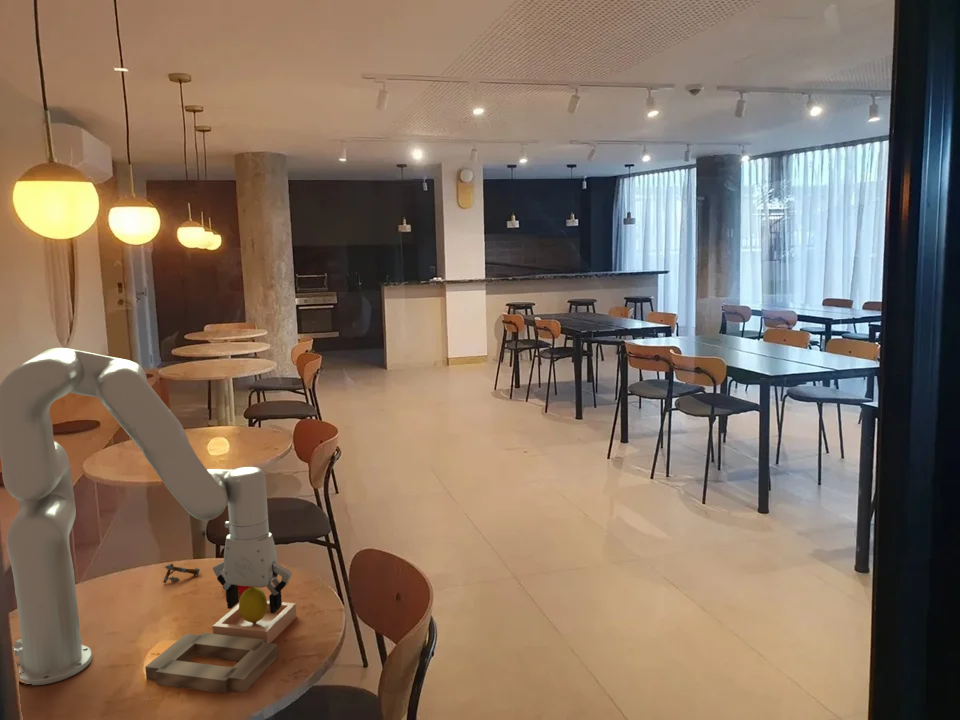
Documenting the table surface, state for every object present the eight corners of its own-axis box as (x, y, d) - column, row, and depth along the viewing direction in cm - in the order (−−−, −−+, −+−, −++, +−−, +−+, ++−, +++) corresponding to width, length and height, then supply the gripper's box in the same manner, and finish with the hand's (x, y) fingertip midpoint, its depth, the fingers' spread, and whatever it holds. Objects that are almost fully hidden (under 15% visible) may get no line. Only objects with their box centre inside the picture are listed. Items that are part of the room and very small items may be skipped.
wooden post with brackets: (158, 580, 174) (165, 561, 174) (191, 584, 179) (197, 566, 179) (160, 583, 172) (167, 564, 173) (193, 587, 177) (200, 568, 178)
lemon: (234, 626, 151) (231, 589, 150) (254, 614, 156) (252, 579, 154) (254, 632, 148) (251, 595, 147) (274, 620, 153) (271, 584, 152)
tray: (213, 639, 148) (212, 625, 147) (245, 611, 159) (244, 598, 159) (267, 646, 145) (266, 631, 144) (296, 616, 156) (295, 603, 156)
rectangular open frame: (142, 682, 133) (141, 669, 133) (190, 642, 147) (189, 631, 146) (241, 695, 129) (240, 682, 128) (281, 653, 142) (280, 641, 142)
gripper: (200, 532, 147) (206, 612, 150) (278, 538, 143) (283, 621, 146) (221, 519, 155) (227, 596, 157) (297, 525, 151) (301, 603, 153)
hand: (254, 608), depth 151 cm, fingers open, 9 cm apart
